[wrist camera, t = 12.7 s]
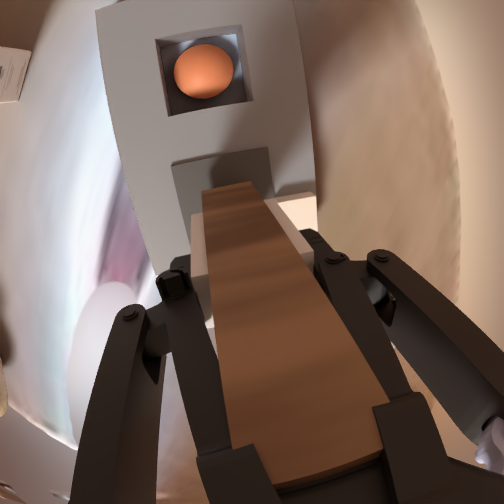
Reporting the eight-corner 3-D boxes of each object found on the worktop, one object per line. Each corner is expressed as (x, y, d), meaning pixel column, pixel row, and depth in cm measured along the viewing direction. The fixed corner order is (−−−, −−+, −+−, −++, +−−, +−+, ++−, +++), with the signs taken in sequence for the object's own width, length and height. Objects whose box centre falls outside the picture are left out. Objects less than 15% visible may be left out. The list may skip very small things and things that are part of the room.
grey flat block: (106, 19, 15) (90, 6, 12) (277, -9, 17) (293, -27, 13) (159, 257, 26) (154, 283, 23) (306, 226, 28) (323, 246, 24)
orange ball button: (170, 52, 18) (169, 50, 17) (227, 42, 18) (229, 40, 18) (179, 103, 20) (178, 103, 19) (235, 93, 21) (237, 92, 20)
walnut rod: (201, 190, 20) (240, 490, 4) (250, 181, 20) (409, 436, 4) (210, 235, 21) (261, 512, 6) (256, 225, 22) (375, 478, 6)
